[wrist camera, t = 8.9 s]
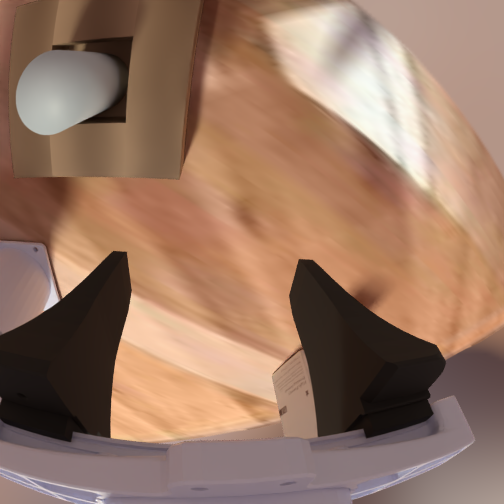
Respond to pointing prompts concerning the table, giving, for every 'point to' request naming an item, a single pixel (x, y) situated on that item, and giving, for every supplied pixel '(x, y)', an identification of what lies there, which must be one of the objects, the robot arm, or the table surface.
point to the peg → (68, 88)
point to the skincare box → (296, 398)
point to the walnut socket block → (133, 102)
